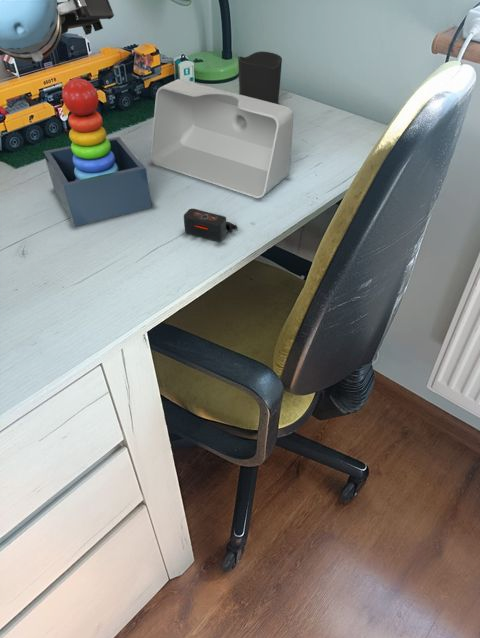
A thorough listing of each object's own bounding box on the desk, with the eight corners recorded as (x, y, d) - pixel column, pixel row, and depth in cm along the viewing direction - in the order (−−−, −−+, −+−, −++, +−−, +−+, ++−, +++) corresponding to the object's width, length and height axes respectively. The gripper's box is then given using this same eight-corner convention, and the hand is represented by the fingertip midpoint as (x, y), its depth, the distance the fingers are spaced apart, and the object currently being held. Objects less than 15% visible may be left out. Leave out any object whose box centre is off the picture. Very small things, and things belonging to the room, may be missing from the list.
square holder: (54, 190, 89) (43, 151, 84) (126, 174, 93) (119, 136, 88) (74, 227, 81) (63, 185, 76) (151, 207, 86) (146, 167, 81)
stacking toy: (135, 200, 87) (115, 82, 74) (93, 216, 83) (64, 95, 70) (110, 182, 91) (87, 67, 78) (69, 197, 87) (37, 79, 74)
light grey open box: (306, 164, 98) (312, 95, 89) (263, 200, 88) (265, 127, 79) (199, 133, 106) (195, 67, 98) (149, 162, 97) (140, 92, 88)
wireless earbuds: (225, 245, 79) (224, 227, 76) (183, 234, 80) (181, 216, 78) (237, 230, 82) (237, 212, 79) (197, 220, 83) (196, 202, 81)
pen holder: (280, 115, 114) (282, 65, 107) (238, 114, 114) (237, 64, 107) (278, 99, 121) (281, 51, 114) (238, 98, 120) (238, 50, 113)
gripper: (-85, 100, 50) (-41, 103, 68) (154, 15, 53) (135, 39, 71) (-138, 12, 46) (-76, 40, 64) (122, -73, 49) (111, -24, 68)
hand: (35, 40), depth 68 cm, fingers open, 13 cm apart
